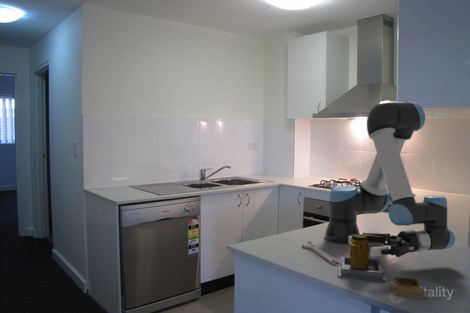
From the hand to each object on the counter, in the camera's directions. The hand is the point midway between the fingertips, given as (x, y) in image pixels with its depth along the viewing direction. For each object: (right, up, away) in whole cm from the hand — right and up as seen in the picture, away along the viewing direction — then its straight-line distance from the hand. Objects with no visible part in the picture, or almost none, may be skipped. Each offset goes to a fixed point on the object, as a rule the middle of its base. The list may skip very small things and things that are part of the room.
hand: (359, 245), depth 129 cm
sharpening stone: (+51, -2, +98) cm, 111 cm away
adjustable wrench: (-10, -8, +19) cm, 23 cm away
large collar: (+1, -9, +1) cm, 9 cm away
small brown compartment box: (+10, -10, -14) cm, 20 cm away
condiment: (+1, -9, 0) cm, 9 cm away
